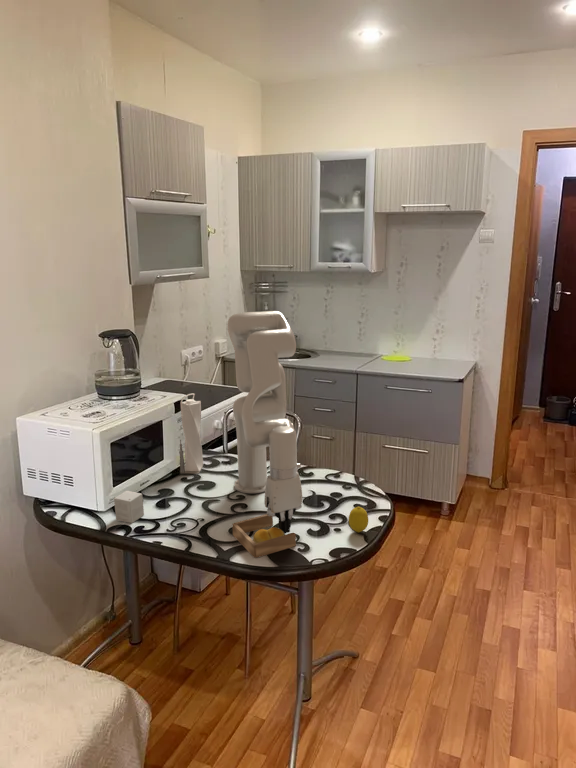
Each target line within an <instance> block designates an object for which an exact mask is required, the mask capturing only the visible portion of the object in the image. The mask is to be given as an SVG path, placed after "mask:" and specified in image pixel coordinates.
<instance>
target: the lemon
mask: <svg viewBox="0 0 576 768" xmlns="http://www.w3.org/2000/svg"><path fill="white" fill-rule="evenodd" d="M348 524H349V527H350V528H351V529H352V530H353V531H355V532H356V533H358V534H359V533H360V532H363V531H365V530H366V529H367V528H368V524H369V515H368V513H367V510H366V509H364V508H363V507H361V506H355V507H353V509H351V510H350V513H349V516H348Z"/></svg>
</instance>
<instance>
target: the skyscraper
mask: <svg viewBox="0 0 576 768" xmlns="http://www.w3.org/2000/svg"><path fill="white" fill-rule="evenodd" d="M195 395H196V393H188V394H186V395H184V396H183V397H182V399H181V400H180V413H181V414H180V416H181V424H182V430H183V434H184V450H183V444H182V440H181V439H180V440H179V443H180V444H179V452H178V453H179V466H180V467H179V470H180V471H179V474H189V475H190V474H192V475H193V474H195V475H196V474H198V475H199V474H200V472H201V471H202V469H203V467H204V457H203V447H202V441H201V437H200V432H201V424H202V404H201V403H202V402H201V401H202V400H195ZM189 396H192V398H190V399H189V398H188V399H186V400H185V401H183V400H184V399H185V398H186V397H189Z"/></svg>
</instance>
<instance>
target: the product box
mask: <svg viewBox="0 0 576 768" xmlns="http://www.w3.org/2000/svg"><path fill="white" fill-rule="evenodd" d="M143 500H144V499H143V493H140V492H136V491H135V492H134V491H131V490H124V491H123V492H122V493H120V494H119V495H117V496H116V497H114V498H113V502H114V511H115V520H116V521H120V522H124V523H128V524H134V523H135V522H136V521H138V520H139V519H140V518H142V517H143V516H144V515H145V512H144V510H145V509H144V501H143Z"/></svg>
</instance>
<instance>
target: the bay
mask: <svg viewBox="0 0 576 768" xmlns="http://www.w3.org/2000/svg"><path fill="white" fill-rule="evenodd" d="M273 518H274V517H269V516H268V515H267V513H266V514H265V513H264V514H261V515H258V516H255V517H249V518H247V519H243V520H239V521H236V522H233V523H232V524H231V525H232V526H231V528H232V536H233V537H234V538H235V539H236V540H237V541H238V542H239V544H240V545H241V546H242V547H244V549H245V550H246V551H247V552H248V553H249V554H250V555H251V556H252V557H253V559H255V558H260V557H264V556H266V555H270V554H274V553H277V552H280V551H284V550H287V549H290V548H294V547H296V545H297V542H296V541H297V540H296V539H297V538H296V537H297V534H296V532H291V533H290V532H289V533H286V534H284V535H283V536H280V537H277V538H273V539H270V540H266V541H263V542H260V543H255V542H254V541H253V538H251V537H250V536H249V535H248V534H247V533H251V532H254V531H255V532H256V531H258V530H260V529H265V528H269V527H272V526H273V525H274V524H273V523H274V520H273Z"/></svg>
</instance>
